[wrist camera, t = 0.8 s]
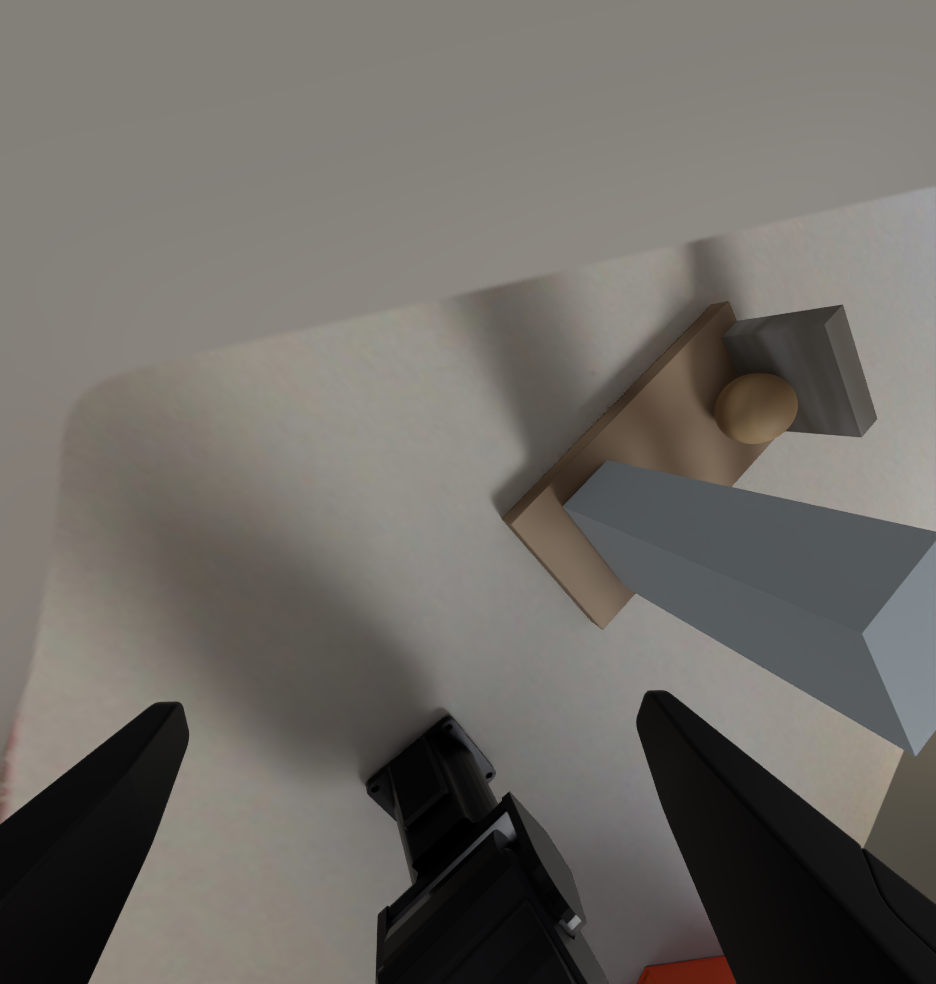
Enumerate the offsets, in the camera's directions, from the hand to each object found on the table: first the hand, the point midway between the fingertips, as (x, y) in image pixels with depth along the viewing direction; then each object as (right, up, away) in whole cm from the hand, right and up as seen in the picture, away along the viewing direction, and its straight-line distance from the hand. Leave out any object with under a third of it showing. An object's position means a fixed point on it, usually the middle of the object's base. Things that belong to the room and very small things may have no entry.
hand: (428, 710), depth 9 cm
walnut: (+18, +10, +21) cm, 29 cm away
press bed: (+13, +6, +21) cm, 26 cm away
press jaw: (+10, +2, +19) cm, 22 cm away
